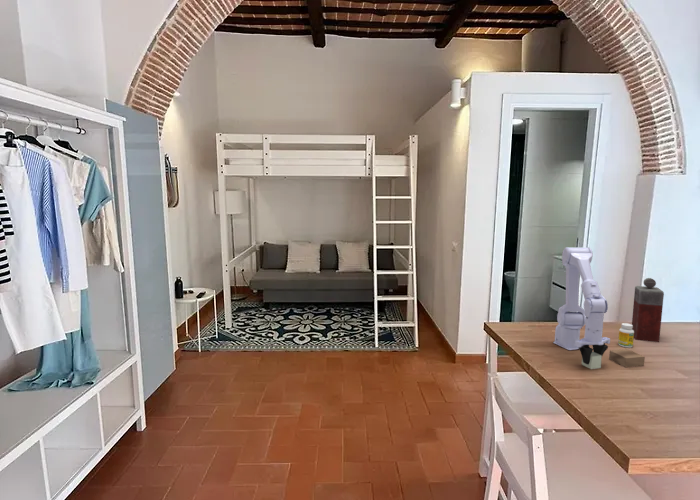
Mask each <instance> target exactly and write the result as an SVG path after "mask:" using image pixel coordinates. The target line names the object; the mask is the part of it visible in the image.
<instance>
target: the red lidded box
mask: <svg viewBox="0 0 700 500" xmlns="http://www.w3.org/2000/svg"><path fill="white" fill-rule="evenodd" d="M656 284H657V282H656V280H655V279H653V278H652V277H648V278H645V279H644V280H643V285H644V286H643V285H642V286H641V285H636V286H635V287H634V295H633V297H634V298H633V307H632V318H631V325H633V328H632V330H633V331H634V339H635V340H636V341H645V342H651V343H652V342H653V343H654V342H655V343H660V338H661V329H662V328H661V327H662V316H663V305H664V295H665V292H664V291H663V290H661V289H660V288H659V287H656V286H657V285H656Z"/></svg>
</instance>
